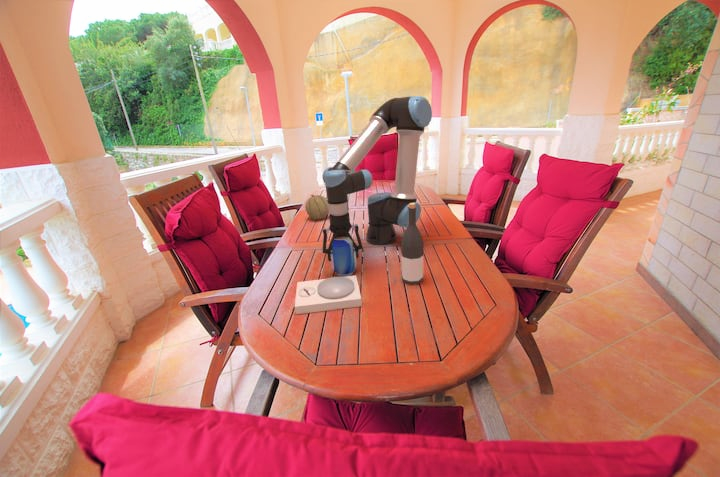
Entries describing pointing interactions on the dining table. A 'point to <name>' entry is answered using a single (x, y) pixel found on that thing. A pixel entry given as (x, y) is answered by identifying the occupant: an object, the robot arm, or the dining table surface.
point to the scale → (327, 294)
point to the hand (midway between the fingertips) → (344, 266)
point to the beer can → (343, 256)
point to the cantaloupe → (317, 207)
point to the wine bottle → (412, 251)
